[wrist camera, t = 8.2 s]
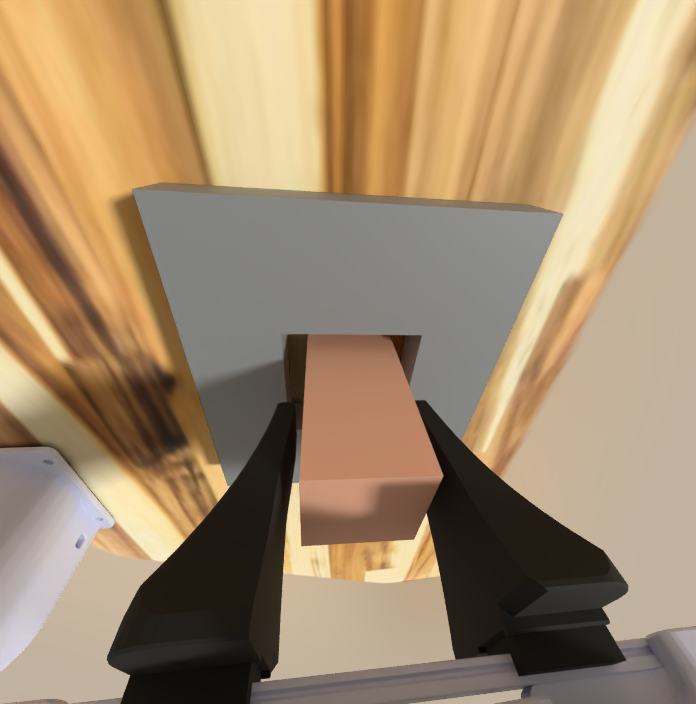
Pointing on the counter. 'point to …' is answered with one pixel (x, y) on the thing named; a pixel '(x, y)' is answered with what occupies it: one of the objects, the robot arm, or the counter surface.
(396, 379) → the terracotta peg
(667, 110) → the counter surface
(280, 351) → the socket block
